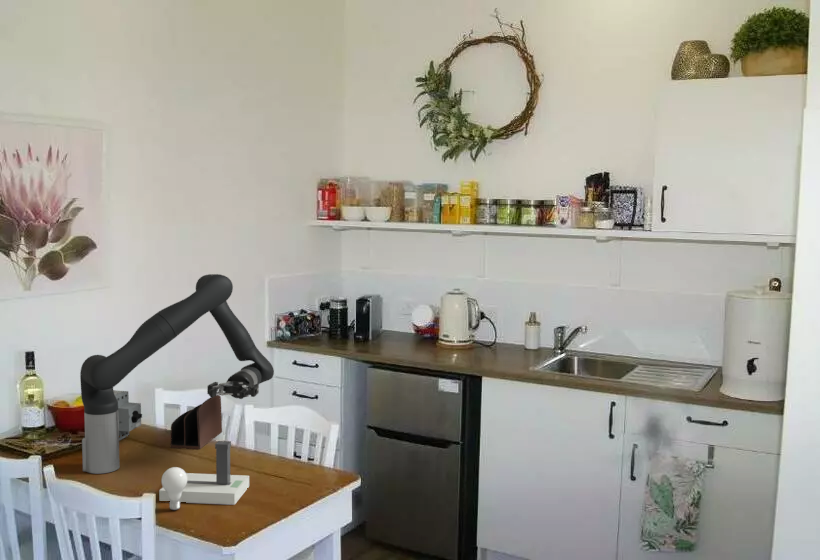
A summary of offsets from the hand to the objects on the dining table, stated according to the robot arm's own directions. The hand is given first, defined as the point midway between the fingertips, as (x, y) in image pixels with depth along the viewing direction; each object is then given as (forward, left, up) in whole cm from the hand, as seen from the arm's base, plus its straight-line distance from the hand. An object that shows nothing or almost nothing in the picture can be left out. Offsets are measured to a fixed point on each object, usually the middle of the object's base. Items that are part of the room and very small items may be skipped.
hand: (225, 394), depth 235 cm
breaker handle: (+4, -17, -20) cm, 26 cm away
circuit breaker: (-45, +29, -23) cm, 58 cm away
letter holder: (-19, +31, -24) cm, 43 cm away
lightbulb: (-5, -29, -23) cm, 37 cm away
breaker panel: (-1, -17, -23) cm, 29 cm away
